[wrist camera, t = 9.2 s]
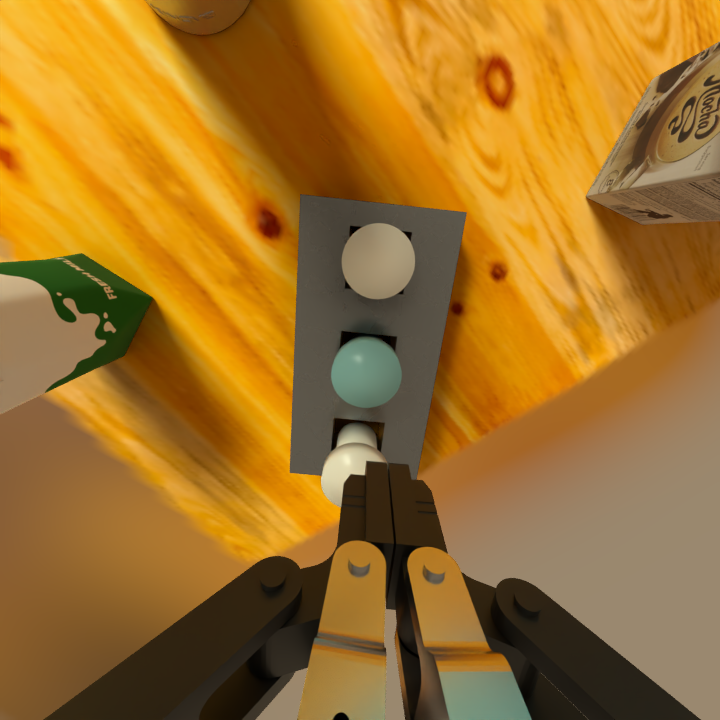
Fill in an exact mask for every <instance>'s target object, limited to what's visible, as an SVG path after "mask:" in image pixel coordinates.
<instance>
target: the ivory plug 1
mask: <svg viewBox="0 0 720 720" xmlns="http://www.w3.org/2000/svg"><path fill="white" fill-rule="evenodd" d="M414 267H415V254H414V250H413V247H412V244H411V242H410V241H409V239H408V238H407V236H406V235H405V234H404V233H403V232H402V231H401V230H399V229H398V228H396V227H394V226H392V225H389V224H384V223H374V224H369V225H366V226H364V227H362V228H360V229H359V230H357V231H356V232H355V233H354V234H353V235H352V236H351V237H350V238H349V240H348V241H347V243H346V245H345V247H344V250H343V254H342V270H343V274H344V276H345V279H346V281H347V282H348V284H349V285H350V286H351V288H352V289H353V290H354V291H356V292H357V293H358V294H360V295H362V296H364V297H367V298H370V299H385V298H389V297H391V296H394V295H396V294H397V293H399V292H400V291H401V290H402V289H403V288H404V287H405V286H406V285H407V284H408V282H409V281H410V279H411V277H412V274H413V272H414Z"/></svg>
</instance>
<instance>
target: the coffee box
mask: <svg viewBox="0 0 720 720" xmlns="http://www.w3.org/2000/svg"><path fill="white" fill-rule="evenodd" d="M586 197H587V198H589V199H591V200H593V201H595V202H597V203H599V204H601V205H603V206H605V207H607V208H609V209H611V210H613V211H615V212H617V213H619V214H621V215H623V216H625V217H628V218H630V219H632V220H634V221H636V222H638V223H640V224H642V225H647V224H664V223H689V222H707V221H720V42H718V43H716V44H715V45H713V46H711V47H709V48H707V49H706V50H704V51H702V52H701V53H699V54H697V55H695V56H693V57H691V58H690V59H688V60H686V61H684V62H682V63H681V64H679V65H677V66H675V67H673V68H672V69H670V70H668V71H666V72H664V73H662V74H661V75H659V76H657V77H655V78H654V79H653V80H652V81H651V83H650V84H649V86H648V88H647V89H646V91H645V93H644V95H643V96H642V98H641V100H640V102H639V104H638V105H637V107H636V109H635V111H634V112H633V114H632V116H631V118H630V119H629V121H628V123H627V125H626V126H625V128H624V130H623V132H622V133H621V135H620V137H619V139H618V140H617V142H616V144H615V146H614V148H613V149H612V151H611V153H610V155H609V156H608V158H607V160H606V162H605V163H604V165H603V167H602V169H601V170H600V172H599V174H598V176H597V177H596V179H595V181H594V183H593V185H592V186H591V188H590V190H589V191H588V193H587V195H586Z"/></svg>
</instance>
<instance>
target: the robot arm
mask: <svg viewBox="0 0 720 720" xmlns="http://www.w3.org/2000/svg"><path fill="white" fill-rule="evenodd" d="M145 1H146V2H147V3H148V4H149V5H150V6H151V8H152V9H153V10H154V11H155V12H156V13H157V14H158V15H159V16H160V17H161V18H163V19H164V20H165V21H166V22H168V23H169V24H170V25H172V26H174V27H176V28H178V29H180V30H182V31H184V32H188V33H192V34H196V35H210V34H213V33H216V32H220V31H222V30H224V29H226V28H227V27H229V26H230V25H232V24H233V23H234V22H235V21H236V20H237V19H238V18H239V17H240V16H241V15H242V14H243V12H244V11H245V9H246V7H247V6H248V4H249V2H250V1H251V0H145ZM385 598H386V609H393V610H396V619H397V625H396V631H395V638H394V639H395V649H396V656H397V663H398V671H399V678H400V686H401V693H402V700H403V708H404V715H405V720H588V719H589V720H701V719H699V718H698V717H697V716H696V715H694V714H693V713H692V712H691V711H689V710H688V709H687V708H686V707H684V706H683V705H682V704H681V703H680V702H678V701H677V700H676V699H675V698H673V697H672V696H671V695H670V694H668V693H667V692H666V691H665V690H663V689H662V688H661V687H660V686H659V685H657V684H656V683H655V682H654V681H652V680H651V679H650V678H649V677H647V676H646V675H645V674H644V673H642V672H641V671H640V670H639V669H637V668H636V667H635V666H634V665H632V664H631V663H630V662H629V661H628V660H626V659H625V658H624V657H623V656H621V655H620V654H619V653H618V652H616V651H615V650H614V649H613V648H611V647H610V646H609V645H608V644H606V643H605V642H604V641H603V640H602V639H600V638H599V637H598V636H597V635H595V634H594V633H593V632H592V631H591V630H589V629H588V628H587V627H585V626H584V625H583V624H582V623H580V622H579V621H578V620H577V619H576V618H574V617H573V616H572V615H571V614H570V613H568V612H567V611H566V610H565V609H563V608H562V607H561V606H560V605H558V604H557V603H556V602H555V601H553V600H552V599H551V598H550V597H548V596H547V595H546V594H545V593H543V592H542V591H541V590H540V589H538V588H537V587H536V586H534V585H532V584H530V583H529V582H526V581H524V580H521V579H516V578H508V579H504V580H502V581H501V582H500V583H499V584H498V585H497V588H494V587H491V586H489V585H486V584H484V583H481V582H478V581H476V580H474V579H471V578H470V577H468V576H466V575H465V574H464V573H462V572H461V571H460V568H459V566H458V564H457V563H456V561H455V560H454V559H453V558H452V557H451V556H449V555H448V552H447V549H446V545H445V542H444V537H443V534H442V530H441V526H440V522H439V518H438V515H437V511H436V507H435V505H434V499H433V496H432V492H431V490H430V489H429V488H428V486H427V485H426V484H425V483H424V481H423V480H412V479H411V474H410V469H409V465H408V464H398V463H386V462H376V461H366V466H365V475H356V474H350V476H349V477H348V478H347V479H346V481H345V482H344V485H343V494H342V504H341V513H340V523H339V533H338V542H337V547H336V549H335V551H334V553H333V554H332V555H331V557H329V559H327V560H326V561H324V562H323V563H321V564H318V565H315V566H312V567H307V568H303V569H300V568H299V566H298V565H297V564H296V563H295V562H294V561H293V560H291V559H289V558H286V557H281V556H273V557H268V558H265V559H263V560H261V561H259V562H257V563H256V564H255V565H253V566H252V567H250V568H249V569H248V570H246V571H245V572H244V573H242V574H241V575H240V576H238V577H237V578H235V579H234V580H233V581H232V582H230V583H229V584H227V585H226V586H225V587H223V588H222V589H221V590H219V591H218V592H216V593H215V594H214V595H212V596H211V597H210V598H209V599H207V600H206V601H204V602H203V603H202V604H200V605H199V606H197V607H196V608H195V609H193V610H192V611H191V612H189V613H188V614H187V615H185V616H184V617H183V618H181V619H180V620H178V621H177V622H176V623H174V624H173V625H172V626H170V627H169V628H168V629H166V630H165V631H164V632H162V633H161V634H160V635H158V636H157V637H155V638H154V639H153V640H151V641H150V642H149V643H147V644H146V645H145V646H143V647H142V648H140V649H139V650H138V651H136V652H135V653H134V654H132V655H131V656H130V657H128V658H127V659H125V660H124V661H123V662H121V663H120V664H119V665H117V666H116V667H115V668H113V669H112V670H111V671H109V672H108V673H107V674H105V675H104V676H102V677H101V678H100V679H98V680H97V681H95V682H94V683H93V684H92V685H90V686H89V687H87V688H86V689H85V690H83V691H82V692H81V693H79V694H78V695H76V696H75V697H74V698H72V699H71V700H70V701H68V702H67V703H66V704H65V705H63V706H62V707H60V708H59V709H57V710H56V711H55V712H53V713H52V714H51V715H49V716H48V717H47V718H45V719H44V720H255V719H256V718H257V717H258V716H259V715H260V714H261V712H262V711H263V710H264V709H265V708H266V707H267V706H268V705H269V703H270V702H271V701H272V700H273V699H274V698H275V697H276V695H277V694H278V693H279V692H280V691H281V690H282V689H283V688H284V686H285V685H286V684H287V683H288V682H289V681H290V679H291V678H292V677H293V675H294V673H295V671H298V670H301V669H304V668H308V670H307V675H306V680H305V684H304V689H303V694H302V698H301V703H300V708H299V713H298V718H297V720H385V703H386V700H385V699H386V648H385V647H384V624H385V621H384V620H385ZM558 690H559V691H558ZM573 704H574V705H573ZM587 718H588V719H587Z"/></svg>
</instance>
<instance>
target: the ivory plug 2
mask: <svg viewBox="0 0 720 720" xmlns="http://www.w3.org/2000/svg"><path fill="white" fill-rule="evenodd" d="M366 461H376V462H386V463H387V461H386V459H385V457H384V456H383V455H382V453H381V452H380V451H379V450H377V439H376V434H375V432H374V430H373V429H372V428H371V427H370V426H368V425H366V424H364V423H360V422H354V423H350V424H347V425H346V426H344V427H343V428H342V429H341V430H340V432H339V434H338V439H337V446H336V448H335V449H334V450H333V451H331V452H330V453H329V455H328V456H327V458H326V460H325V462H324V467H323V472H322V478H321V485H322V489H323V492H324V494H325V495H326V497H327V498H328V499H329V500H330V501H331V502H332V503H334V504H335V505H337V506H339V507H341V504H342V494H343V485H344V482H345V481H346V479H347V478H348V477H349V476H350V474H356V475H365V466H366Z"/></svg>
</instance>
